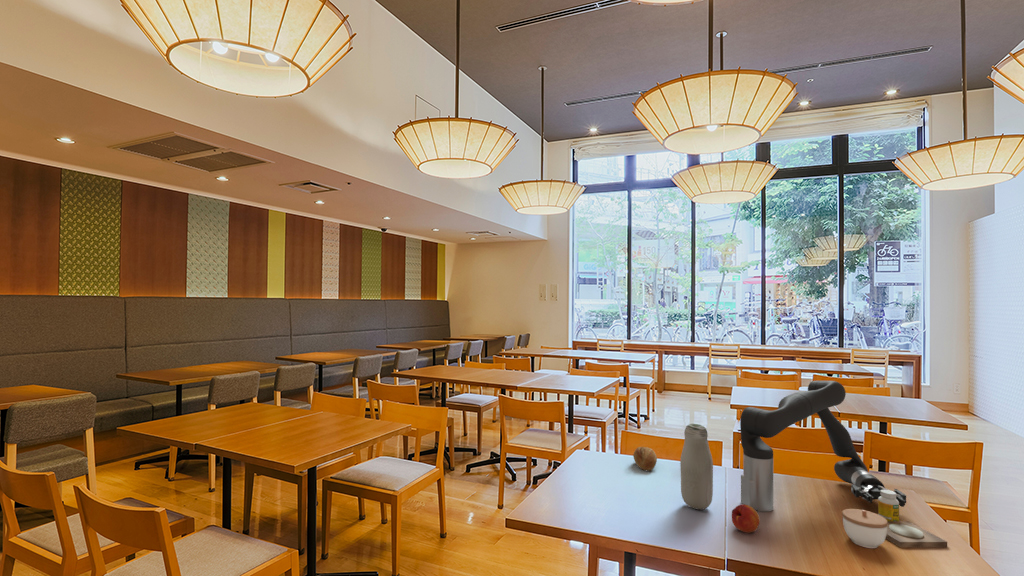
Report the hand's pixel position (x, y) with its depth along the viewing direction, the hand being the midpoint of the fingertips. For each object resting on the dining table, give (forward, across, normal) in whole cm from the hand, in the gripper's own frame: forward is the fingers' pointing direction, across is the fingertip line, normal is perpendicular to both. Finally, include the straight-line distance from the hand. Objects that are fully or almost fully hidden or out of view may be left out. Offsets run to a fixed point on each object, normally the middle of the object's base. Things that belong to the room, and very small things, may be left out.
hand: (887, 501), depth 156 cm
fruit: (+24, -45, +6) cm, 51 cm away
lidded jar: (+20, -13, +6) cm, 24 cm away
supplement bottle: (+1, 0, +6) cm, 6 cm away
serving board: (+11, 0, +6) cm, 12 cm away
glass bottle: (+10, -58, +6) cm, 59 cm away
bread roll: (-27, -77, +6) cm, 81 cm away
